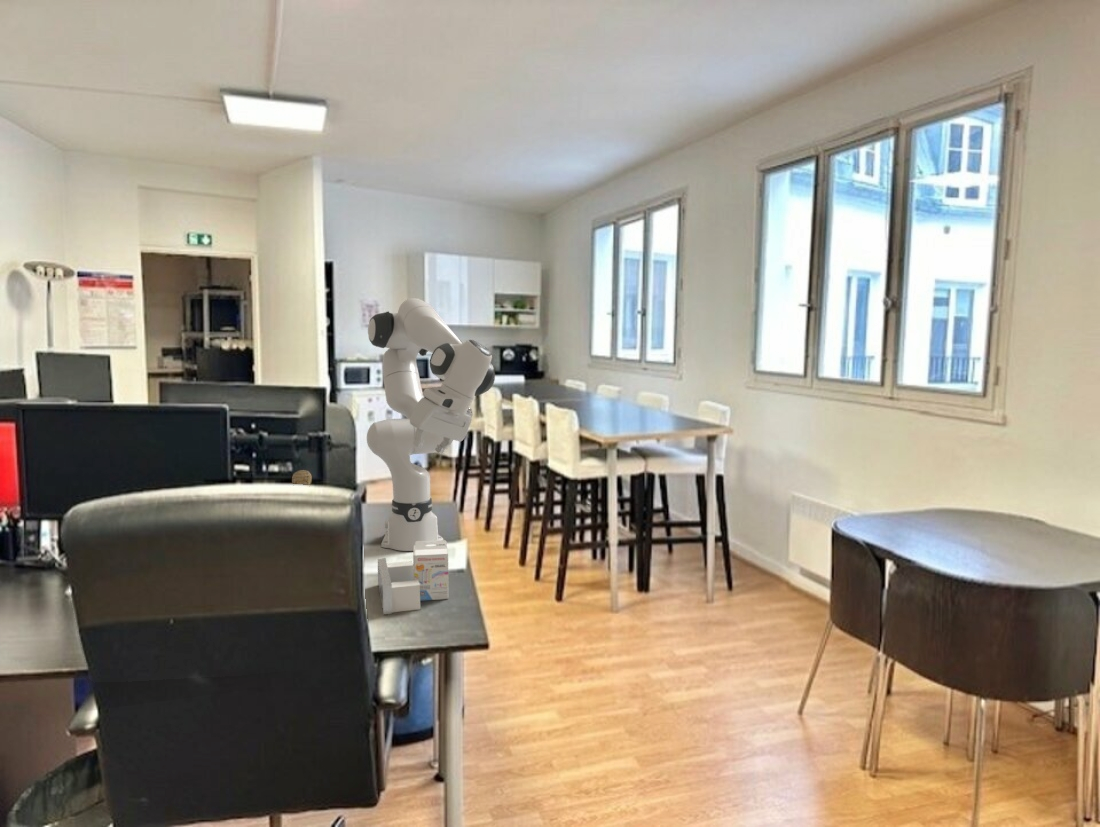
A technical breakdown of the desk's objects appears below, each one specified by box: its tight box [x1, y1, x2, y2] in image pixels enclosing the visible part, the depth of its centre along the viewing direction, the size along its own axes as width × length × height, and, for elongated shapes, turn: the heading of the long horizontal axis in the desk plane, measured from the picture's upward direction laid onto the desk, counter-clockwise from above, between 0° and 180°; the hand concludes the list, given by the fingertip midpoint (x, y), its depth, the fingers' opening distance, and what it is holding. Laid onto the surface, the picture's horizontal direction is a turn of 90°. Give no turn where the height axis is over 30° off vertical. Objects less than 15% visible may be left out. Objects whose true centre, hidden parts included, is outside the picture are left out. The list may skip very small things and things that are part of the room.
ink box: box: [412, 539, 450, 602], centre depth 180 cm, size 9×8×13 cm
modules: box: [386, 560, 421, 613], centre depth 179 cm, size 18×7×6 cm, turn 17°
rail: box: [377, 557, 393, 615], centre depth 178 cm, size 20×2×7 cm, turn 17°
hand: (427, 449), depth 184 cm, fingers open, 8 cm apart
